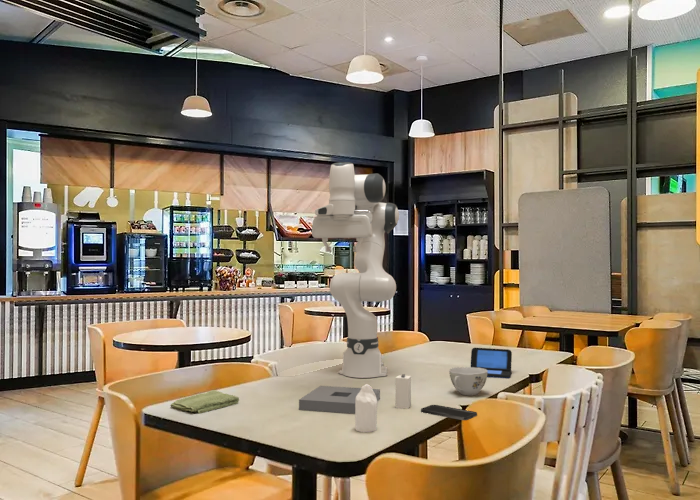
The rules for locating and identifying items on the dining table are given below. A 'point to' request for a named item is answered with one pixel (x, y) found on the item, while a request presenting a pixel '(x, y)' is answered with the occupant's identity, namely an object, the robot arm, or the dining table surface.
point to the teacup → (468, 379)
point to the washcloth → (205, 402)
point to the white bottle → (366, 410)
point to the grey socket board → (332, 399)
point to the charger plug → (402, 391)
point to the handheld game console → (492, 361)
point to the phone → (449, 412)
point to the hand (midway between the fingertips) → (341, 251)
